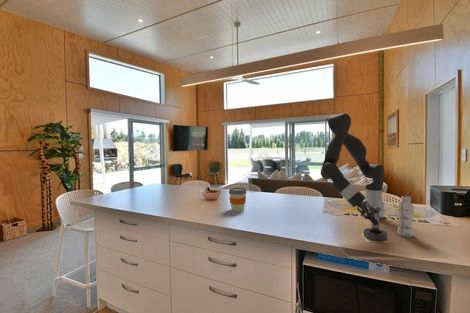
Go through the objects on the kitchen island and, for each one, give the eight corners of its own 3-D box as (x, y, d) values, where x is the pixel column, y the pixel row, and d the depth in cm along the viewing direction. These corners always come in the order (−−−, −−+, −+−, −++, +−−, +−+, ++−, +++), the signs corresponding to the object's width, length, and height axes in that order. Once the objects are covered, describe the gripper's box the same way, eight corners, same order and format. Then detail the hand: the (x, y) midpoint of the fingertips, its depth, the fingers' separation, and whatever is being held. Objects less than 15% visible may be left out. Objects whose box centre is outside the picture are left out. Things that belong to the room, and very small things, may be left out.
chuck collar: (380, 234, 120) (380, 228, 120) (390, 241, 111) (390, 234, 111) (361, 234, 121) (361, 228, 121) (370, 241, 112) (370, 234, 112)
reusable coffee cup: (249, 209, 177) (249, 188, 177) (240, 213, 167) (240, 191, 166) (235, 206, 184) (234, 187, 183) (225, 210, 173) (225, 189, 173)
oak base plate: (381, 235, 122) (381, 233, 122) (395, 244, 110) (395, 242, 110) (356, 235, 123) (356, 233, 123) (368, 244, 111) (368, 242, 111)
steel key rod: (377, 236, 118) (378, 206, 118) (381, 239, 114) (382, 208, 114) (368, 235, 118) (369, 206, 118) (372, 239, 114) (373, 208, 114)
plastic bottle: (394, 235, 122) (394, 195, 121) (406, 234, 123) (407, 195, 122) (404, 240, 116) (404, 198, 115) (417, 239, 116) (418, 197, 116)
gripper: (355, 192, 114) (383, 221, 108) (361, 188, 126) (387, 214, 119) (343, 202, 118) (369, 230, 111) (350, 197, 129) (374, 223, 123)
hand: (378, 222), depth 115 cm, fingers open, 8 cm apart
